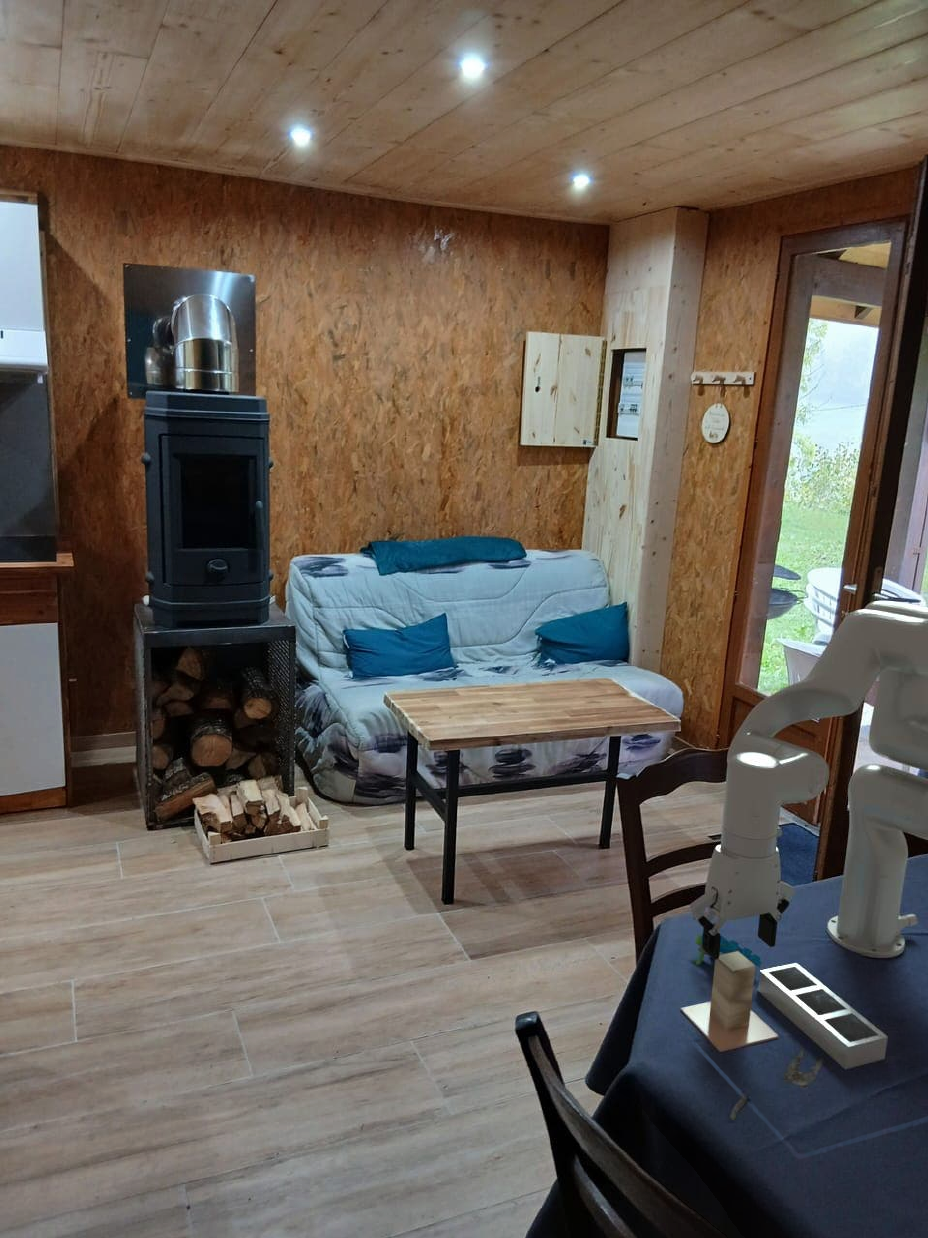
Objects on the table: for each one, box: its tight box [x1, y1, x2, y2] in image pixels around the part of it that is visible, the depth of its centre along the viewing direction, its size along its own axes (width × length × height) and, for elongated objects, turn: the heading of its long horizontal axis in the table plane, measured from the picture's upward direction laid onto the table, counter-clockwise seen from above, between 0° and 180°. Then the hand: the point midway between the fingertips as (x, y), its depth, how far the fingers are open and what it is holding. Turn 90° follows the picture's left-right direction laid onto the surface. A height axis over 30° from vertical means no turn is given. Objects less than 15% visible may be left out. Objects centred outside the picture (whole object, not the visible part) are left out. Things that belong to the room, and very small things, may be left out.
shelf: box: [757, 962, 889, 1070], centre depth 139 cm, size 7×19×4 cm, turn 21°
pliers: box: [729, 1049, 824, 1151], centre depth 126 cm, size 10×1×20 cm
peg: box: [710, 951, 757, 1033], centre depth 138 cm, size 4×4×10 cm
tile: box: [680, 1001, 779, 1053], centre depth 139 cm, size 10×10×1 cm
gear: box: [694, 932, 762, 968], centre depth 152 cm, size 11×6×10 cm
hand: (738, 948), depth 137 cm, fingers open, 9 cm apart
